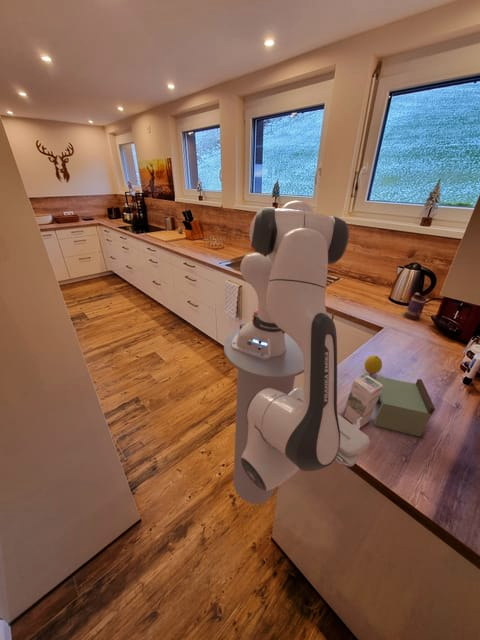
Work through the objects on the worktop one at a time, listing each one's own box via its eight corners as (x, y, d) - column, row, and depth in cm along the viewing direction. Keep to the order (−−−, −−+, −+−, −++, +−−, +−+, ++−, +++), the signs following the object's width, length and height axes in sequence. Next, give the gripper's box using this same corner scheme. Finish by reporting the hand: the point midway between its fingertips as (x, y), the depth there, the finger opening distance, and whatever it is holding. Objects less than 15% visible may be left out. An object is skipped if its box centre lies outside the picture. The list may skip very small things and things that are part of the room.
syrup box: (370, 421, 78) (384, 384, 71) (357, 429, 75) (371, 392, 68) (353, 408, 82) (366, 372, 75) (341, 416, 79) (353, 379, 72)
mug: (420, 321, 135) (429, 300, 129) (405, 318, 138) (413, 297, 132) (417, 313, 144) (425, 293, 138) (402, 310, 146) (410, 290, 140)
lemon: (378, 380, 94) (385, 362, 90) (362, 376, 96) (368, 358, 92) (377, 371, 99) (384, 353, 95) (362, 367, 100) (367, 350, 97)
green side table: (374, 425, 77) (385, 398, 71) (368, 396, 87) (378, 370, 82) (420, 436, 74) (435, 408, 69) (409, 405, 84) (421, 379, 79)
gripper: (351, 460, 49) (387, 425, 57) (276, 396, 64) (312, 374, 71) (344, 480, 52) (379, 443, 60) (273, 414, 67) (308, 391, 74)
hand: (342, 405), depth 66 cm, fingers open, 8 cm apart
